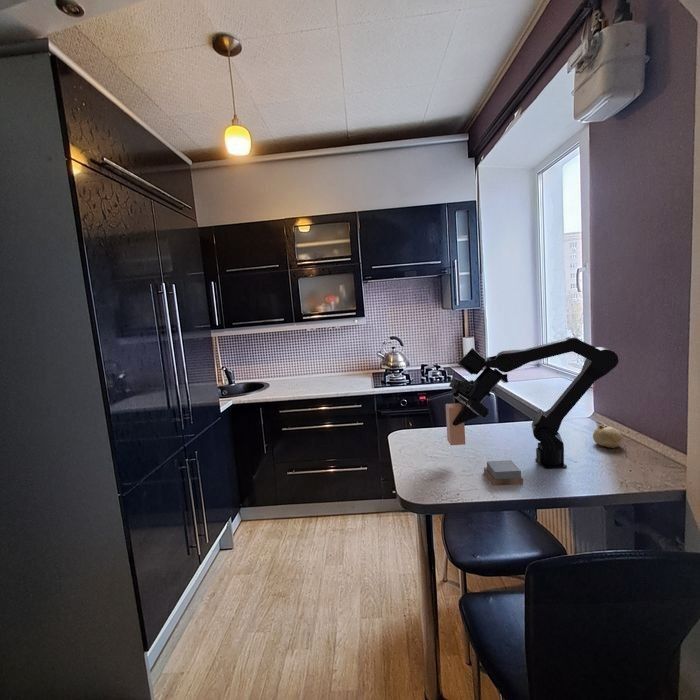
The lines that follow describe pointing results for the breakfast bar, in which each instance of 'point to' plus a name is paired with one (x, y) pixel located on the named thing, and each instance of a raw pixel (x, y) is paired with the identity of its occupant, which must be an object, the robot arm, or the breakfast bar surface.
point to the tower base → (502, 481)
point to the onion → (607, 436)
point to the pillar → (454, 432)
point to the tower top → (503, 469)
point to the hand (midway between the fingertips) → (450, 422)
